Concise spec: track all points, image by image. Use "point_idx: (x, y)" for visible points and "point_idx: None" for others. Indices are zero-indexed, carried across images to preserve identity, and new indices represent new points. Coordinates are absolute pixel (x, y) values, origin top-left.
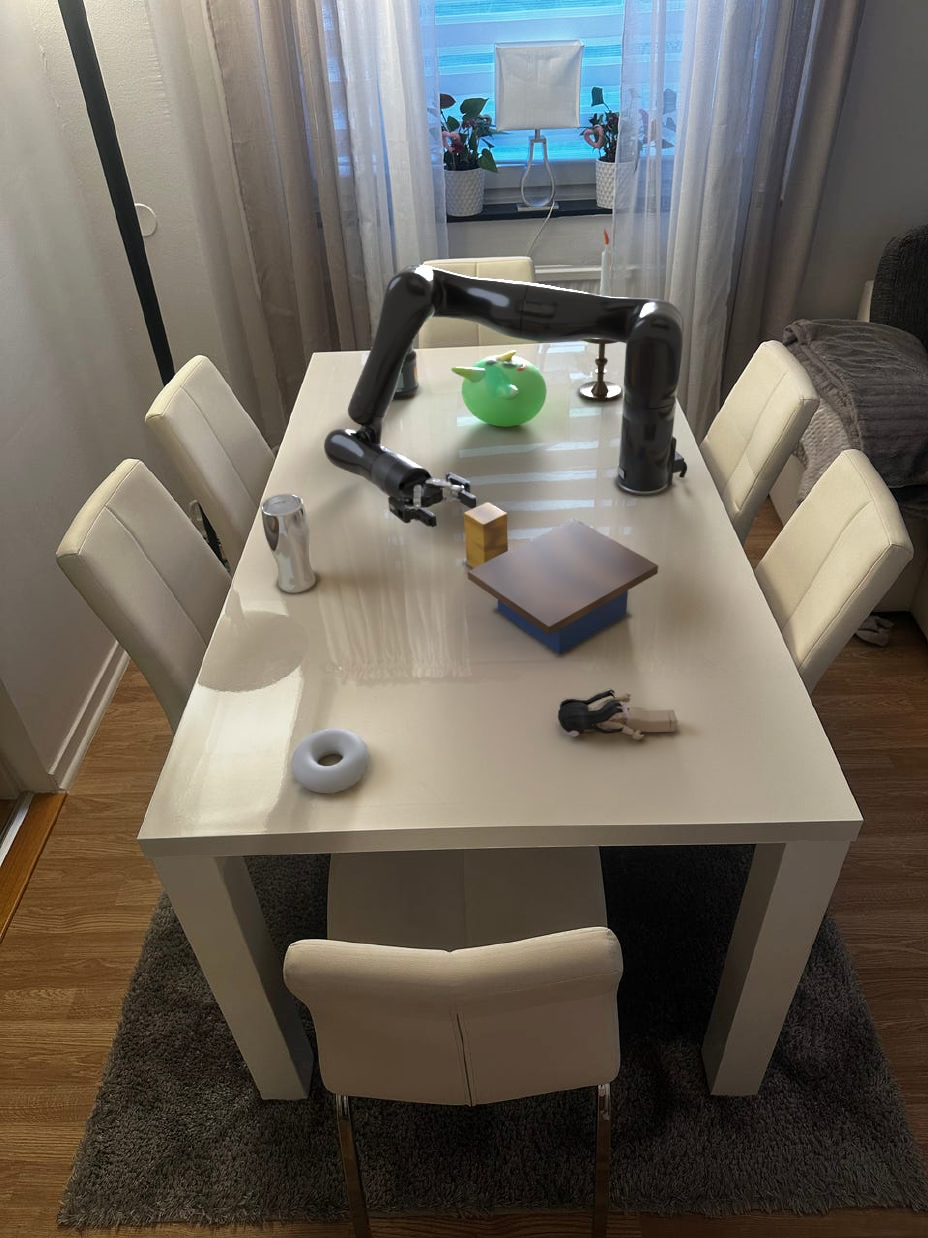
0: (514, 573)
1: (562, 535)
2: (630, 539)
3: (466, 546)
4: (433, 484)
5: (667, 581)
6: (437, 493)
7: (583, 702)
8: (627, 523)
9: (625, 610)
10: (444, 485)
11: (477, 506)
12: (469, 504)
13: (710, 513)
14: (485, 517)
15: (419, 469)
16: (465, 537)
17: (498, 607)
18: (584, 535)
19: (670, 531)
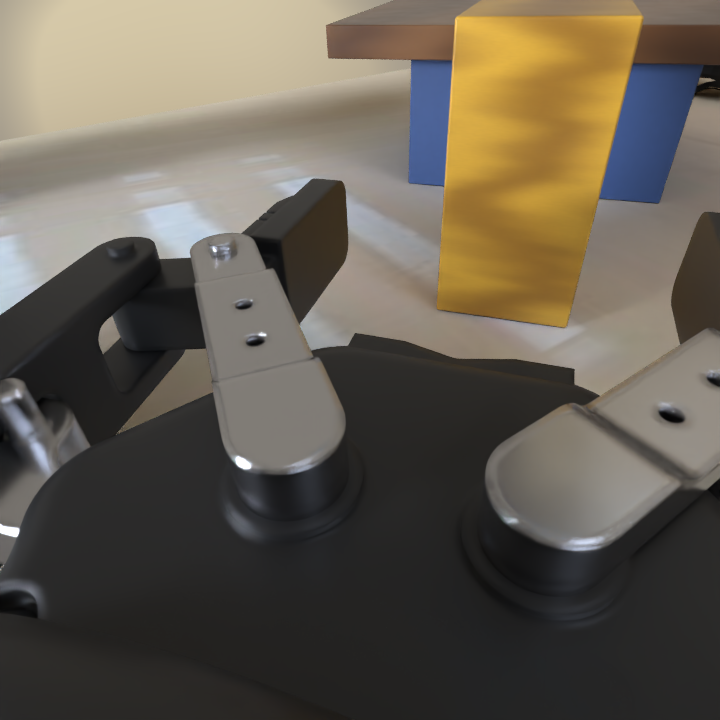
0: (688, 11)
1: (431, 18)
2: (183, 166)
3: (587, 238)
4: (321, 366)
5: (312, 122)
6: (400, 346)
7: (716, 70)
8: (105, 182)
9: None
10: (281, 287)
11: (532, 17)
12: (332, 249)
13: (36, 137)
14: (579, 3)
15: (20, 618)
16: (600, 190)
17: (663, 187)
18: (396, 13)
19: (126, 148)
